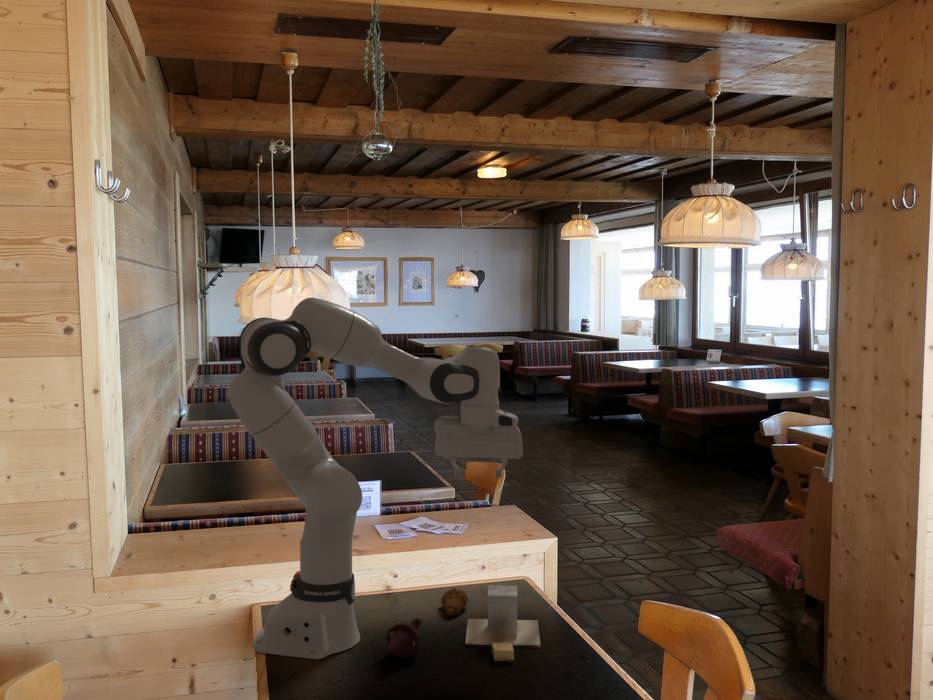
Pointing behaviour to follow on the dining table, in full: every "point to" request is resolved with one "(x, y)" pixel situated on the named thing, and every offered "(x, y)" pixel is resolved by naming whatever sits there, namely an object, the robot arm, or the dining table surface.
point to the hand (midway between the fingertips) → (478, 476)
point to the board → (479, 636)
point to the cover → (502, 610)
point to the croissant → (454, 601)
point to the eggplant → (404, 638)
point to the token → (502, 651)
